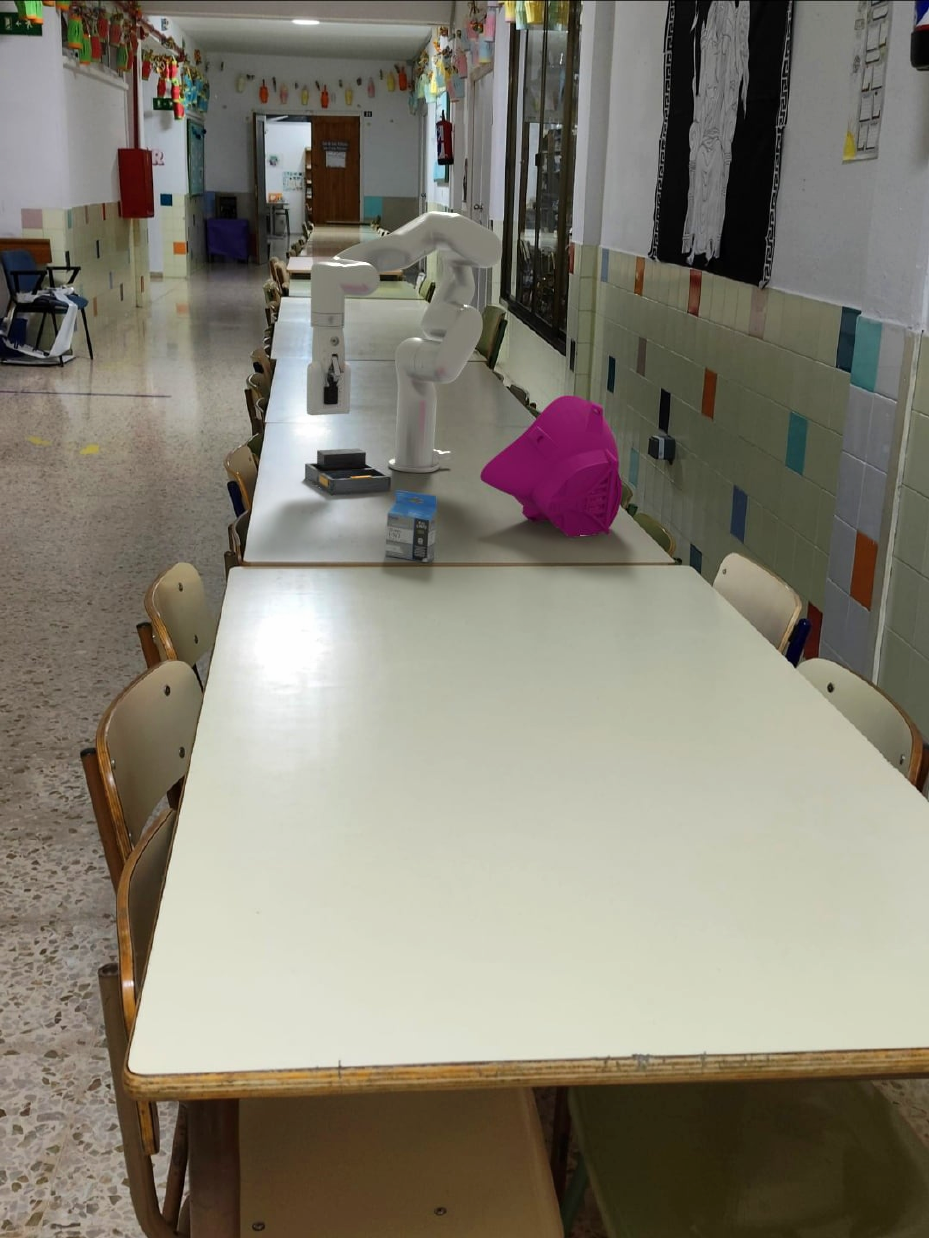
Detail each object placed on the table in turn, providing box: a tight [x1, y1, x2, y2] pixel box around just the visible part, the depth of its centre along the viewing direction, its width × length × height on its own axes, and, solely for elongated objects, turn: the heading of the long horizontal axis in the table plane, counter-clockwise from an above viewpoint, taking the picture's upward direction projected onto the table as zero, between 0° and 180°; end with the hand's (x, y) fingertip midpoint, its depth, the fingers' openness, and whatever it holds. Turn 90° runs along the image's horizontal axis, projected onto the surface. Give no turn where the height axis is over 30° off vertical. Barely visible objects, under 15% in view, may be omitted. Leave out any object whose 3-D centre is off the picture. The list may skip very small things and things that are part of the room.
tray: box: [304, 447, 392, 496], centre depth 279 cm, size 15×16×7 cm
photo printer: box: [306, 361, 352, 416], centre depth 273 cm, size 10×4×12 cm, turn 121°
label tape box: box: [384, 489, 438, 563], centre depth 228 cm, size 9×4×12 cm, turn 69°
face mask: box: [480, 394, 623, 538], centre depth 252 cm, size 28×23×30 cm
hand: (326, 401), depth 274 cm, fingers closed on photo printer, 4 cm apart
